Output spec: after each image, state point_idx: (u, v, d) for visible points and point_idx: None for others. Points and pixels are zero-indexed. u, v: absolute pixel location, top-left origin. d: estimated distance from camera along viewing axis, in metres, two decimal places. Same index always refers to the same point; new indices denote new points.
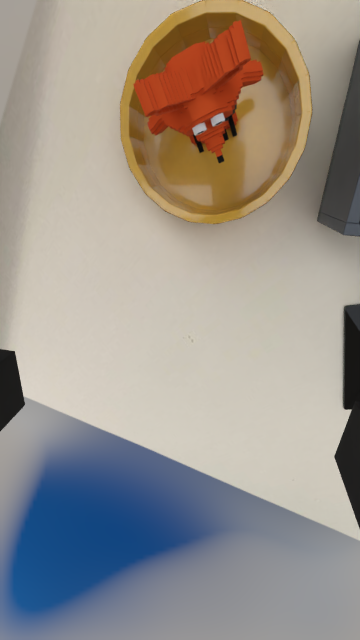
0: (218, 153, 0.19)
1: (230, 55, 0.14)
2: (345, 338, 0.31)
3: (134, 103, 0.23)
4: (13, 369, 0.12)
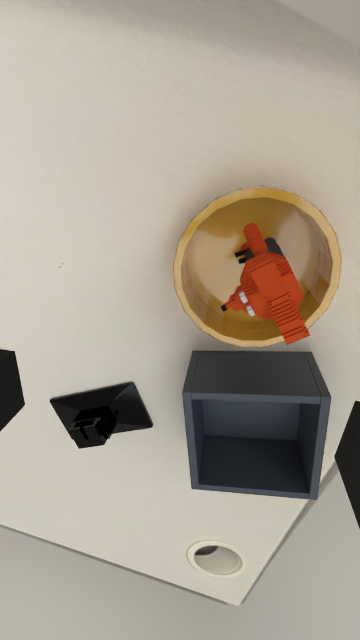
0: (228, 306, 0.23)
1: (289, 330, 0.19)
2: (108, 388, 0.39)
3: None
4: (13, 369, 0.12)
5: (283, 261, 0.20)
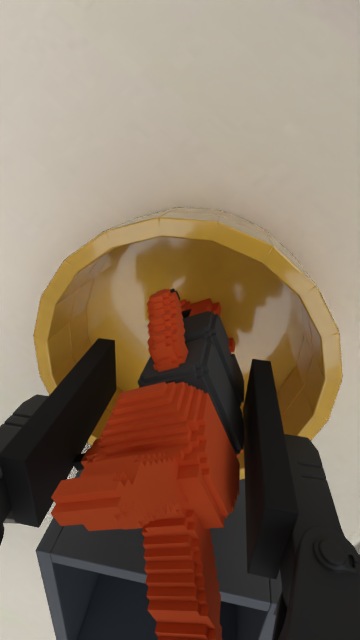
0: (86, 465, 0.11)
1: (173, 626, 0.07)
2: None
3: None
4: (113, 356, 0.14)
5: (194, 425, 0.08)
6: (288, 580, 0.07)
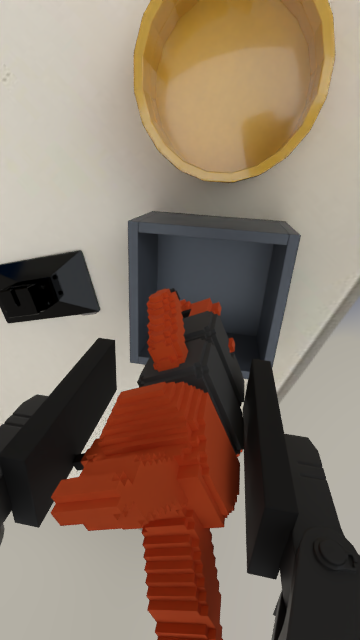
0: (86, 465, 0.11)
1: (173, 626, 0.07)
2: (51, 256, 0.33)
3: None
4: (113, 356, 0.14)
5: (194, 425, 0.08)
6: (288, 580, 0.07)
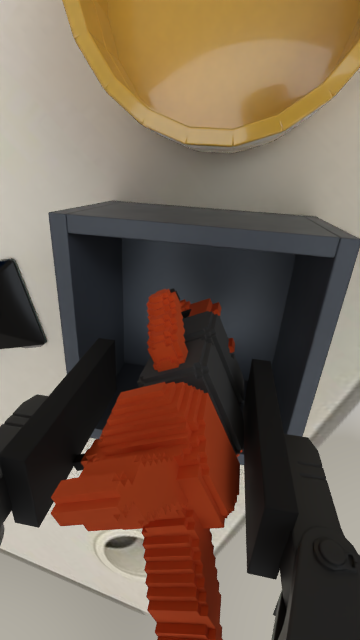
0: (86, 465, 0.11)
1: (173, 627, 0.07)
2: None
3: None
4: (113, 356, 0.14)
5: (194, 425, 0.08)
6: (288, 580, 0.07)
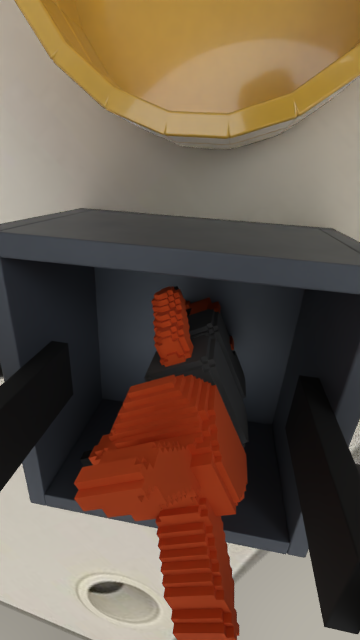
0: (94, 461, 0.11)
1: (189, 612, 0.07)
2: None
3: None
4: (66, 359, 0.13)
5: (205, 415, 0.08)
6: None
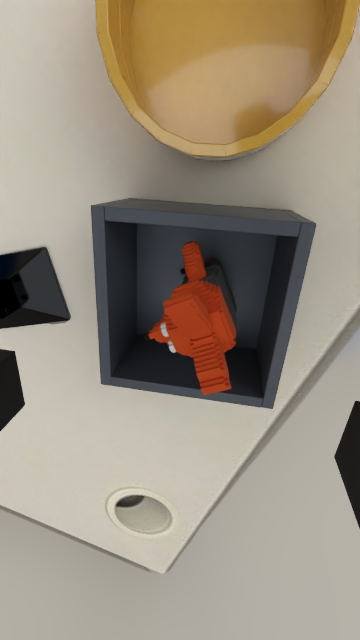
0: (151, 336, 0.19)
1: (208, 379, 0.16)
2: (10, 254, 0.28)
3: None
4: (13, 369, 0.12)
5: (214, 295, 0.17)
6: None
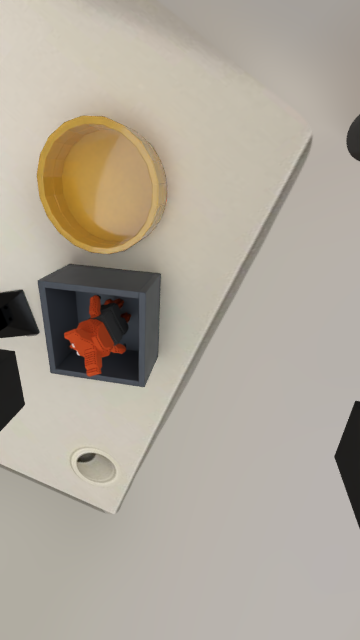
0: (71, 346, 0.36)
1: (90, 369, 0.33)
2: (1, 293, 0.45)
3: None
4: (13, 369, 0.12)
5: (96, 327, 0.34)
6: None
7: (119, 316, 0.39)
